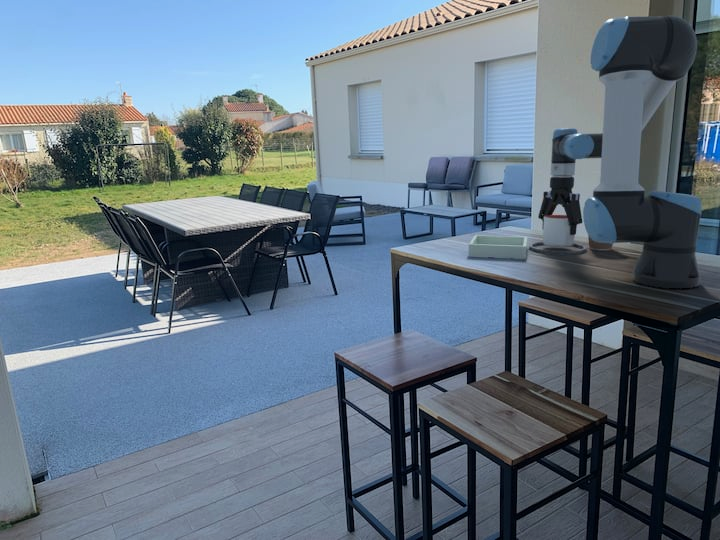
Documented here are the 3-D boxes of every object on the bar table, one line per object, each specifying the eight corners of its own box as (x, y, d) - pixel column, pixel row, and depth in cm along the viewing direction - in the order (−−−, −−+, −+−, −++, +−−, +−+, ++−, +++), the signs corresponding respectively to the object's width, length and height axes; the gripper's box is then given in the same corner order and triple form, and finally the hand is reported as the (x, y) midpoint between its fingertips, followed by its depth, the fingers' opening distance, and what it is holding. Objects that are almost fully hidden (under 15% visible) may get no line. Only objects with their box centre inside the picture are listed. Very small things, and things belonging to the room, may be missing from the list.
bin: (525, 259, 163) (526, 246, 162) (468, 256, 169) (468, 244, 168) (526, 248, 179) (527, 236, 178) (474, 246, 185) (474, 235, 184)
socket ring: (588, 255, 166) (588, 252, 166) (528, 253, 172) (528, 250, 171) (583, 245, 183) (584, 242, 182) (529, 243, 189) (529, 240, 188)
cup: (579, 245, 175) (581, 216, 173) (561, 249, 170) (563, 219, 168) (554, 241, 183) (556, 214, 181) (536, 245, 178) (537, 216, 176)
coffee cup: (607, 252, 169) (611, 216, 167) (578, 248, 177) (580, 214, 174) (622, 248, 176) (625, 213, 173) (592, 244, 183) (595, 211, 181)
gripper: (529, 175, 180) (526, 238, 185) (580, 178, 160) (575, 248, 165) (545, 174, 183) (542, 236, 188) (598, 177, 163) (592, 245, 168)
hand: (557, 241), depth 176 cm, fingers closed on cup, 10 cm apart
